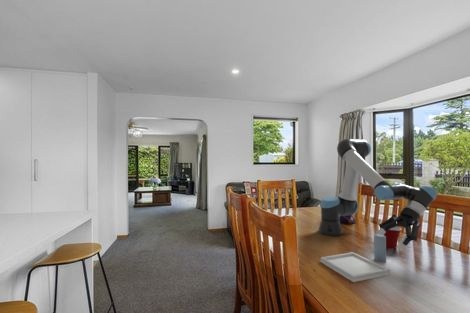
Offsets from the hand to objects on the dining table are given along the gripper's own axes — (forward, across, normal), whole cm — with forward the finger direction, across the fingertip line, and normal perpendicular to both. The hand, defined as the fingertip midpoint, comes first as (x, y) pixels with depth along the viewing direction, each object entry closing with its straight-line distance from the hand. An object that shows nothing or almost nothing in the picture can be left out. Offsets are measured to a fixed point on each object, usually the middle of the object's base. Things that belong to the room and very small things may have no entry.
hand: (386, 244), depth 115 cm
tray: (+21, -4, +9) cm, 23 cm away
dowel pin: (+8, +1, -4) cm, 9 cm away
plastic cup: (-5, +16, -18) cm, 24 cm away
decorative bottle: (-11, +71, -23) cm, 75 cm away
